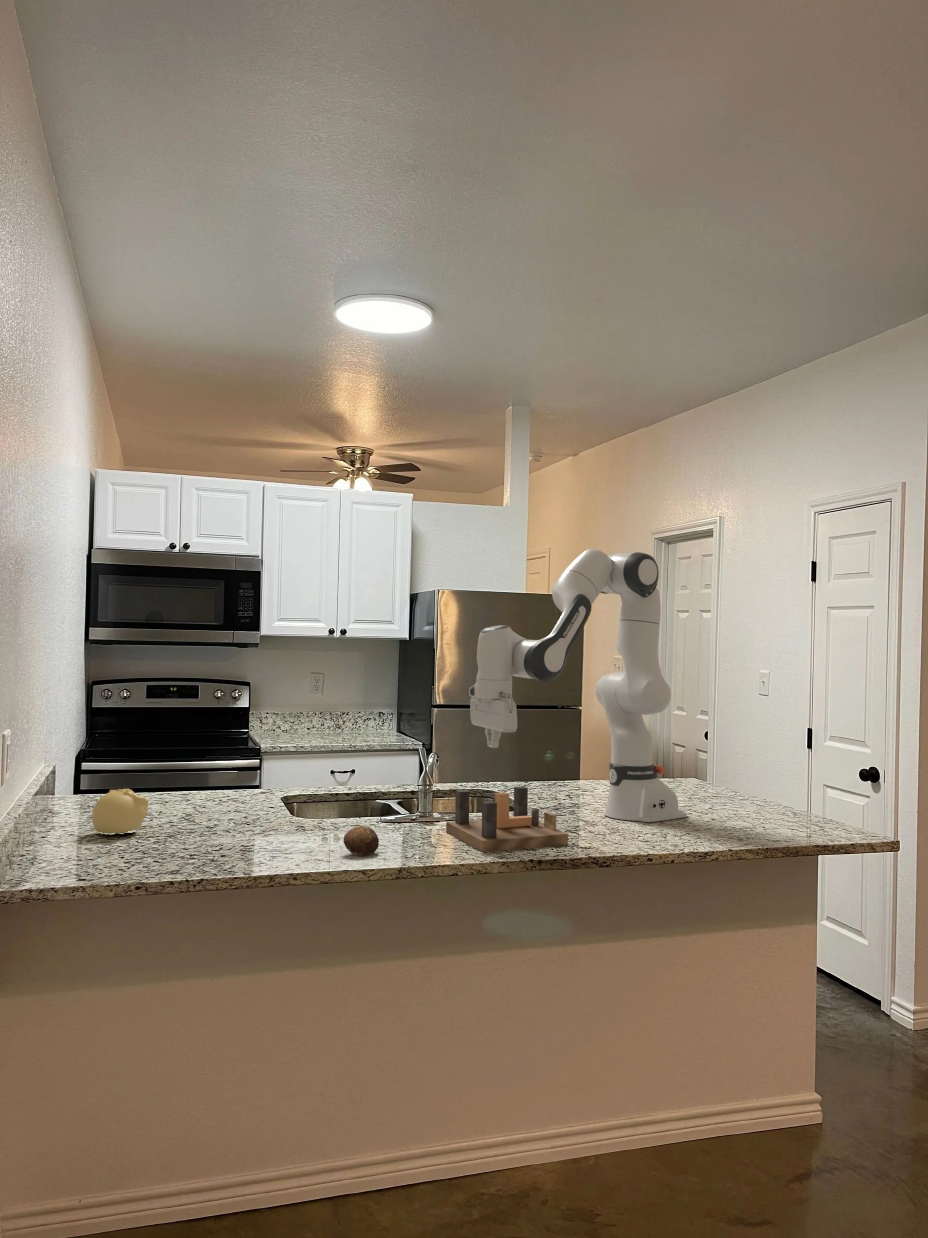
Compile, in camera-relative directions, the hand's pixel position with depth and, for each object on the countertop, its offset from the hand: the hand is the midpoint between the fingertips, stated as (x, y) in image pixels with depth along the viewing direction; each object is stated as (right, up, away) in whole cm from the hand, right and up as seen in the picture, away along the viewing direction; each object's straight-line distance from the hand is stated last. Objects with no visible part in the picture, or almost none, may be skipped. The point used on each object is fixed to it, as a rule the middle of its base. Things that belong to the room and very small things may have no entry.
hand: (492, 747), depth 229 cm
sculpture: (-90, -20, -6) cm, 92 cm away
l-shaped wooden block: (+5, -18, -4) cm, 20 cm away
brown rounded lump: (-30, -21, -22) cm, 43 cm away
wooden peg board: (+3, -21, -5) cm, 22 cm away
